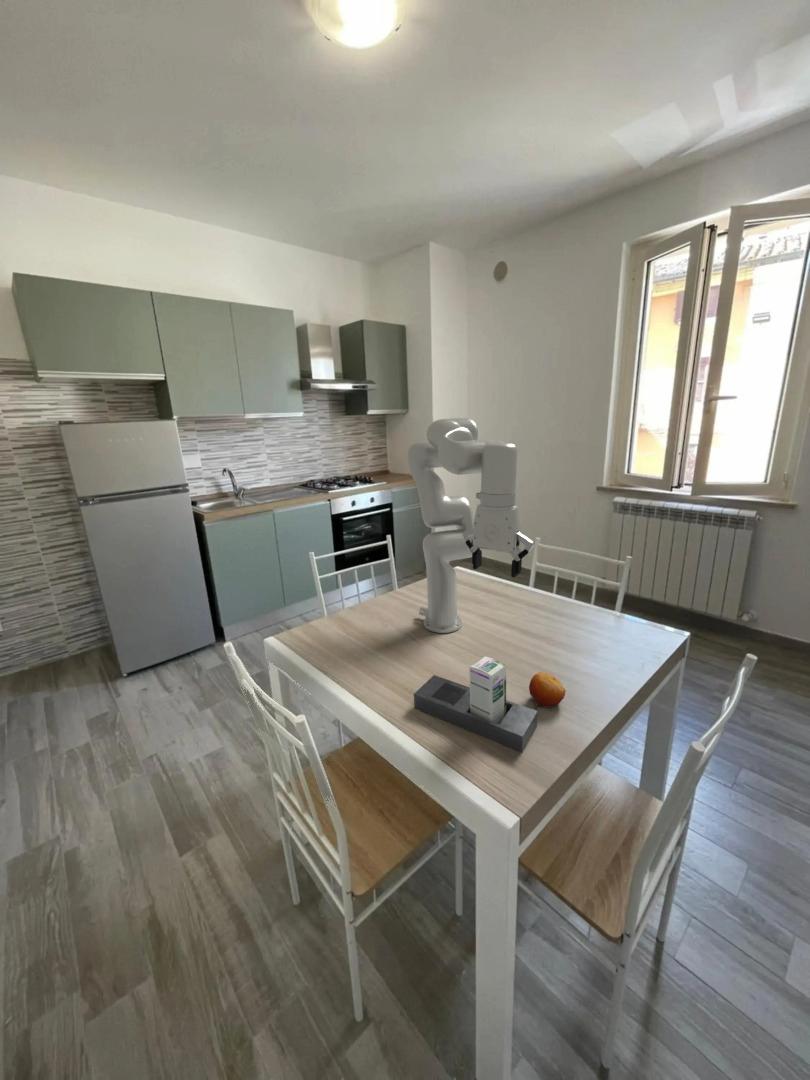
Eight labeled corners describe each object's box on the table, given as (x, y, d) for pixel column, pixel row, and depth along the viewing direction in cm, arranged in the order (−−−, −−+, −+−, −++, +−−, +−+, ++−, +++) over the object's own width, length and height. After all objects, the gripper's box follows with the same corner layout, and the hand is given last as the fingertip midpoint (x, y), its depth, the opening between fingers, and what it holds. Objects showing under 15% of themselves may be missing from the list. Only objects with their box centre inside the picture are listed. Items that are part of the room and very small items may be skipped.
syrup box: (491, 736, 90) (492, 676, 86) (469, 723, 94) (468, 665, 90) (506, 722, 94) (507, 664, 90) (484, 710, 98) (484, 654, 94)
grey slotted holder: (414, 708, 100) (413, 693, 98) (434, 688, 107) (434, 674, 105) (522, 753, 85) (522, 736, 84) (537, 726, 92) (537, 710, 91)
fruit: (516, 688, 103) (533, 662, 101) (542, 700, 104) (560, 674, 103) (528, 709, 95) (547, 681, 94) (556, 722, 97) (575, 694, 95)
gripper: (455, 499, 97) (455, 569, 102) (529, 507, 87) (525, 584, 92) (471, 493, 102) (470, 560, 107) (542, 500, 92) (537, 573, 97)
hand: (495, 571), depth 100 cm, fingers open, 9 cm apart
